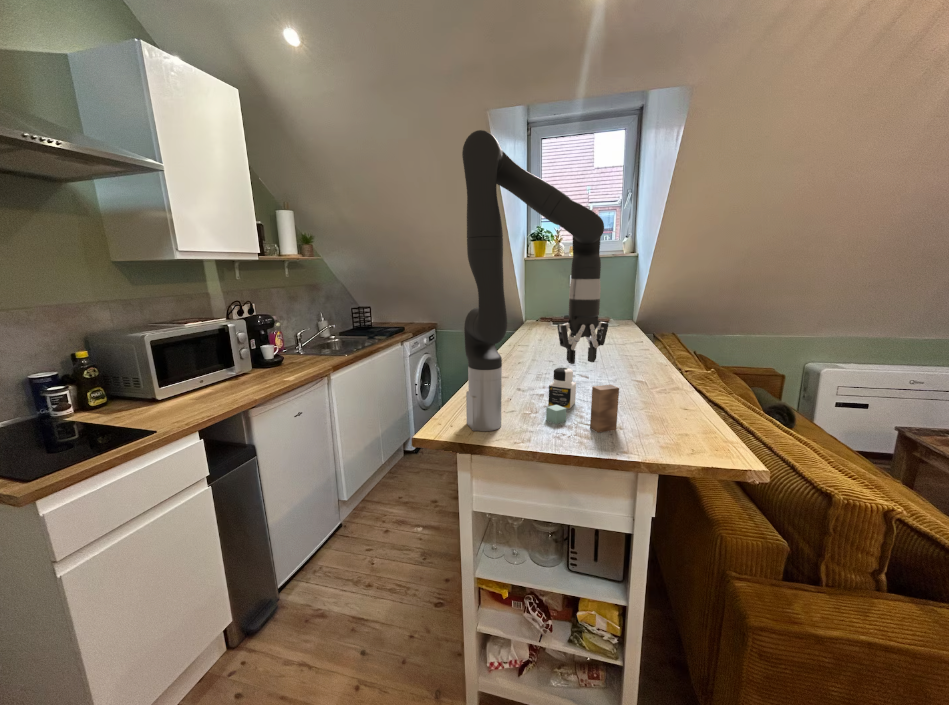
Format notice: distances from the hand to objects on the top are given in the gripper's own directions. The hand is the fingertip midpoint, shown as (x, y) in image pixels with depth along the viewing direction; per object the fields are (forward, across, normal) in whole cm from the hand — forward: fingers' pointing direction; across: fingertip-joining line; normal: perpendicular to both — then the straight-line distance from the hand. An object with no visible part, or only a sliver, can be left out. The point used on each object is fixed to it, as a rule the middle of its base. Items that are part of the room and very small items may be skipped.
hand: (581, 362), depth 104 cm
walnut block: (+20, +8, 0) cm, 21 cm away
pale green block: (+20, -1, +10) cm, 22 cm away
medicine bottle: (+20, +8, +22) cm, 31 cm away
